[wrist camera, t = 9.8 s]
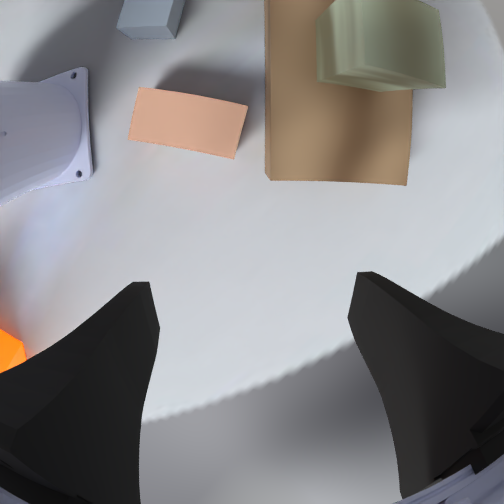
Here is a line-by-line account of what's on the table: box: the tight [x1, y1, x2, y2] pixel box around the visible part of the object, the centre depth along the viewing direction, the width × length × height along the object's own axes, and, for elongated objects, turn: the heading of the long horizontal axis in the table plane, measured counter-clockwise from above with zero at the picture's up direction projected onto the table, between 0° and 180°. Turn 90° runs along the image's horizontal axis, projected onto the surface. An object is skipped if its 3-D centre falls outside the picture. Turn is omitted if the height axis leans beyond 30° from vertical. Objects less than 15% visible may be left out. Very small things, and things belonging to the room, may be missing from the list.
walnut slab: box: [264, 0, 413, 186], centre depth 14 cm, size 9×15×2 cm, turn 0°
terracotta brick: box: [128, 87, 248, 159], centre depth 15 cm, size 6×3×3 cm, turn 75°
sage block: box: [315, 0, 446, 92], centre depth 10 cm, size 4×4×6 cm
